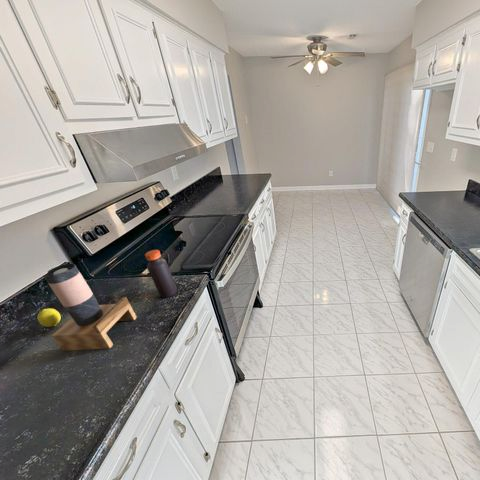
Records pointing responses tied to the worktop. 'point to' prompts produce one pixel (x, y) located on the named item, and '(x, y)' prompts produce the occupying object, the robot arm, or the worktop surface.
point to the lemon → (49, 317)
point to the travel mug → (74, 294)
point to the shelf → (94, 328)
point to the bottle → (160, 274)
